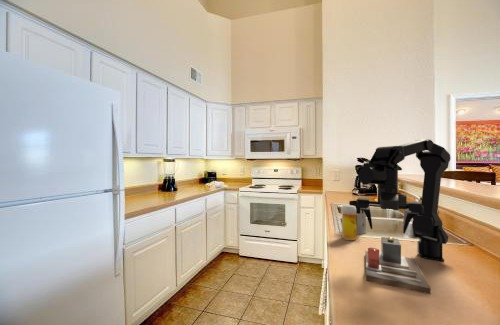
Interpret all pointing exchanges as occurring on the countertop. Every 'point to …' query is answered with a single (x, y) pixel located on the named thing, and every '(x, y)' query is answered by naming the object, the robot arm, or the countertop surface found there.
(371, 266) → the lever
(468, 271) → the countertop surface
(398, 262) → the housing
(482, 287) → the countertop surface
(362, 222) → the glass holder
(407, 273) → the base
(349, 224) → the beer can
